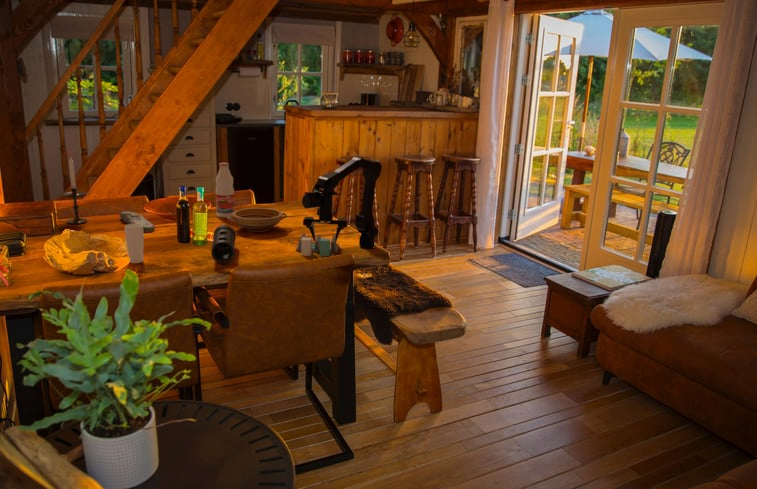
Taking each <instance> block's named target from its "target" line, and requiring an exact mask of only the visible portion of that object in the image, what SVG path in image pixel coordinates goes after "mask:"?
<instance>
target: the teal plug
mask: <svg viewBox="0 0 757 489" xmlns="http://www.w3.org/2000/svg"><path fill="white" fill-rule="evenodd" d="M330 244H331V238H325V237H321V239H320V252H319V257H324V258H325V256H329V257H330V255H331V253H330Z"/></svg>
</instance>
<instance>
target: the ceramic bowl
mask: <svg viewBox="0 0 757 489" xmlns="http://www.w3.org/2000/svg"><path fill="white" fill-rule="evenodd" d="M232 215H233V217H231V216H228V217H227V220H228V221H231V222H233V223H236V224H237V225H238V226H240V227H241V228H245V229H246V231H247V232H251V233H252V232H254V233H262V232H267V231H269V230H270V228H273V227H275V226H277V225H278V224H280V222H281V221H282V220H284V219H286V218H287V217H288V213H286V212H282V211H281V210H278V209H274V208H267V207H248V208H243V209H242V208H241V209H238V210H235V212H233V213H232Z"/></svg>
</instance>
